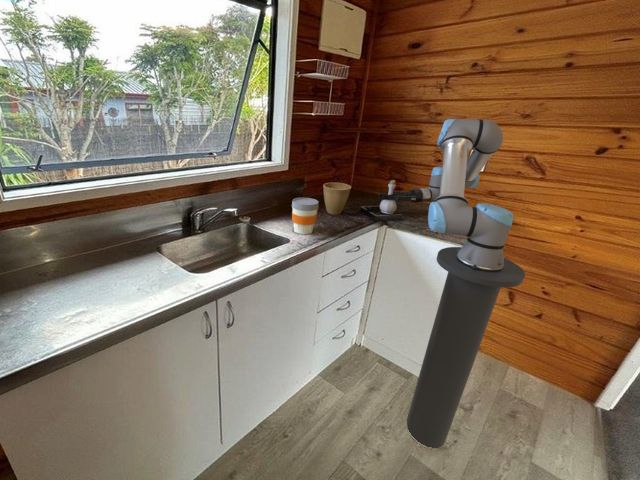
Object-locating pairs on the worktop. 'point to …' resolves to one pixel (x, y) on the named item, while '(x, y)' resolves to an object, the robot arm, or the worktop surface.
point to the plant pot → (335, 197)
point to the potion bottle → (389, 201)
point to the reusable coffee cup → (304, 214)
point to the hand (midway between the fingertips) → (380, 196)
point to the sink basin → (367, 212)
